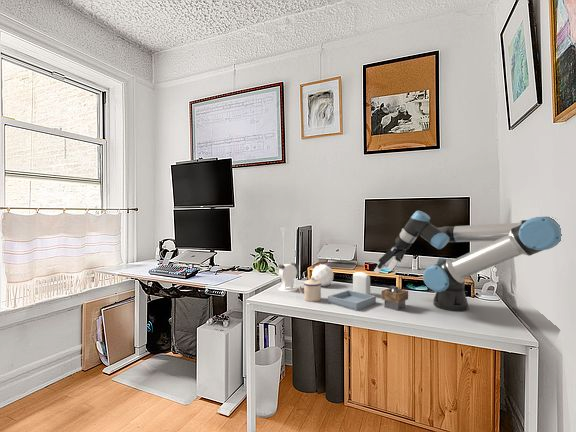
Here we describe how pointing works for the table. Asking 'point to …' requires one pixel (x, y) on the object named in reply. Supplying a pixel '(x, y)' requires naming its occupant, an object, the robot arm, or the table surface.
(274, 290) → the table surface
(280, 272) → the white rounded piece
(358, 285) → the photo printer
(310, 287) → the teacup with lid
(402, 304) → the metal stake
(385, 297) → the walnut ring
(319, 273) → the geodesic sphere
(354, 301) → the slate tray
